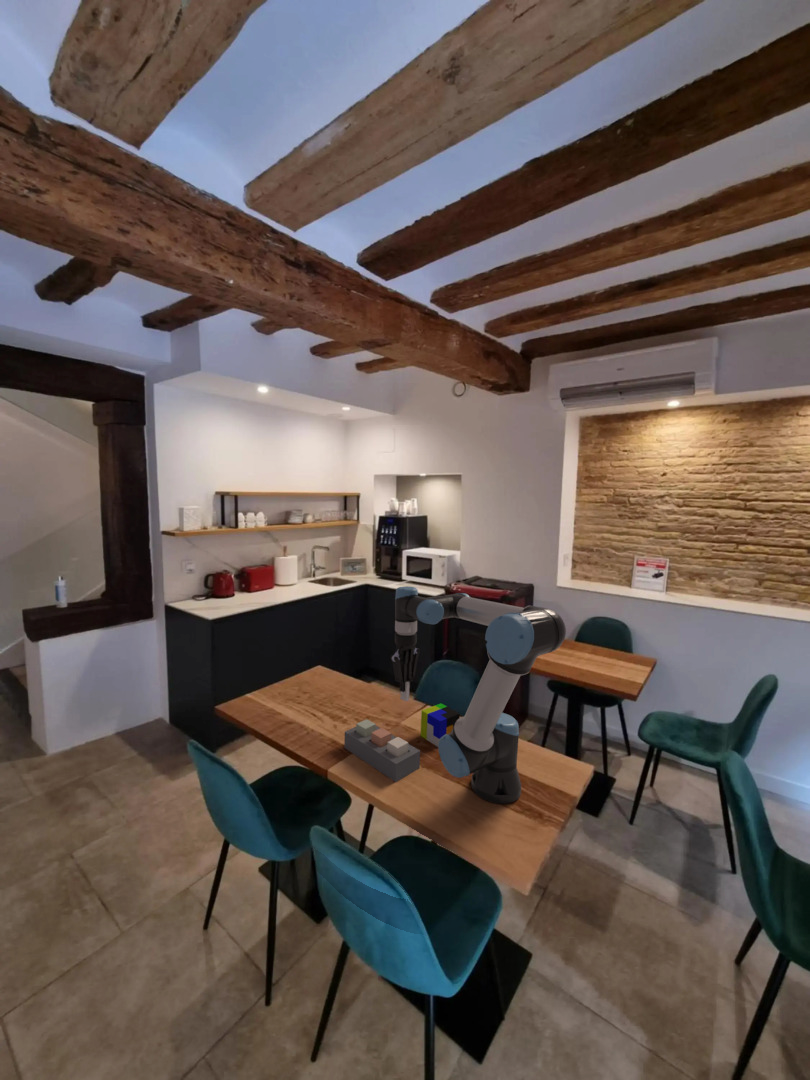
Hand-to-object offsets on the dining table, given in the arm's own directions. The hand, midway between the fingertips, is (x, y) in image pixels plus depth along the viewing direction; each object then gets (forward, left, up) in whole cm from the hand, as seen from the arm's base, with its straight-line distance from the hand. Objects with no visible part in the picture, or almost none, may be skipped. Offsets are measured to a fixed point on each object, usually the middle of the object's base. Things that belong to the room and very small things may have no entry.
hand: (404, 699), depth 156 cm
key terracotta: (+3, +8, -18) cm, 20 cm away
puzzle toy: (-2, -17, -20) cm, 26 cm away
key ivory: (-5, +8, -18) cm, 20 cm away
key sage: (+11, +8, -18) cm, 23 cm away
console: (+3, +8, -19) cm, 21 cm away
